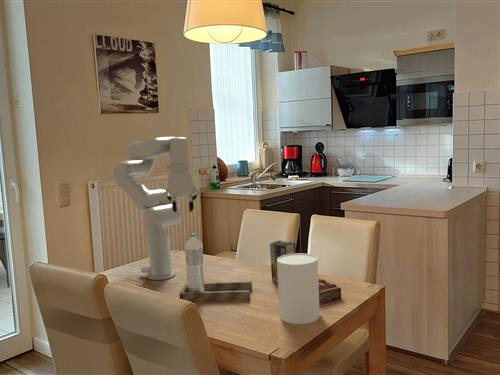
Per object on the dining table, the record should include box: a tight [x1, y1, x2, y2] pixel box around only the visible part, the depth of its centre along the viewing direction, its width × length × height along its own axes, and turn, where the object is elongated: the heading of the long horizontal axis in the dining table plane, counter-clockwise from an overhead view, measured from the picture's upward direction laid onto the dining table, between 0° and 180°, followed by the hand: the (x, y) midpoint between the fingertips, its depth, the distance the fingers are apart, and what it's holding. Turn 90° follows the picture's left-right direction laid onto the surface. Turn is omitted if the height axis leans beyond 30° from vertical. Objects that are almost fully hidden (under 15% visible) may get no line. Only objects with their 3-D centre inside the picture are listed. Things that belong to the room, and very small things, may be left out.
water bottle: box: [184, 232, 206, 292], centre depth 191 cm, size 7×7×25 cm
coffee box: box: [269, 240, 297, 283], centre depth 205 cm, size 9×6×16 cm
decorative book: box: [318, 278, 342, 306], centre depth 185 cm, size 11×16×5 cm
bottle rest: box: [179, 280, 253, 303], centre depth 192 cm, size 27×12×4 cm, turn 86°
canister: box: [277, 252, 321, 325], centre depth 167 cm, size 14×14×20 cm
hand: (183, 211), depth 203 cm, fingers open, 5 cm apart
